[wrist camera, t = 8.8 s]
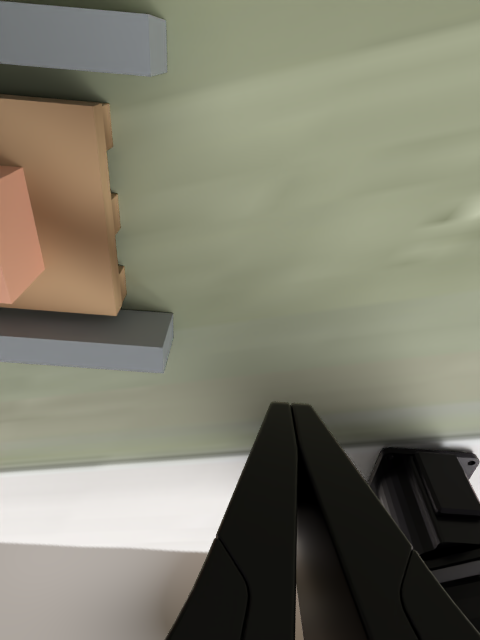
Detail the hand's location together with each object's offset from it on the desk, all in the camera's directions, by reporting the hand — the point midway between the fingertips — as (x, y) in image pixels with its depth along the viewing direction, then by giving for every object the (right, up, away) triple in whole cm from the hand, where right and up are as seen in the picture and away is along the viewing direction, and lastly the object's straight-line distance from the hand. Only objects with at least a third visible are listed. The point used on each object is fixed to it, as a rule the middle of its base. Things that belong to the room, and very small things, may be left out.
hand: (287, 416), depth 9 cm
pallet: (-11, +8, +10) cm, 17 cm away
